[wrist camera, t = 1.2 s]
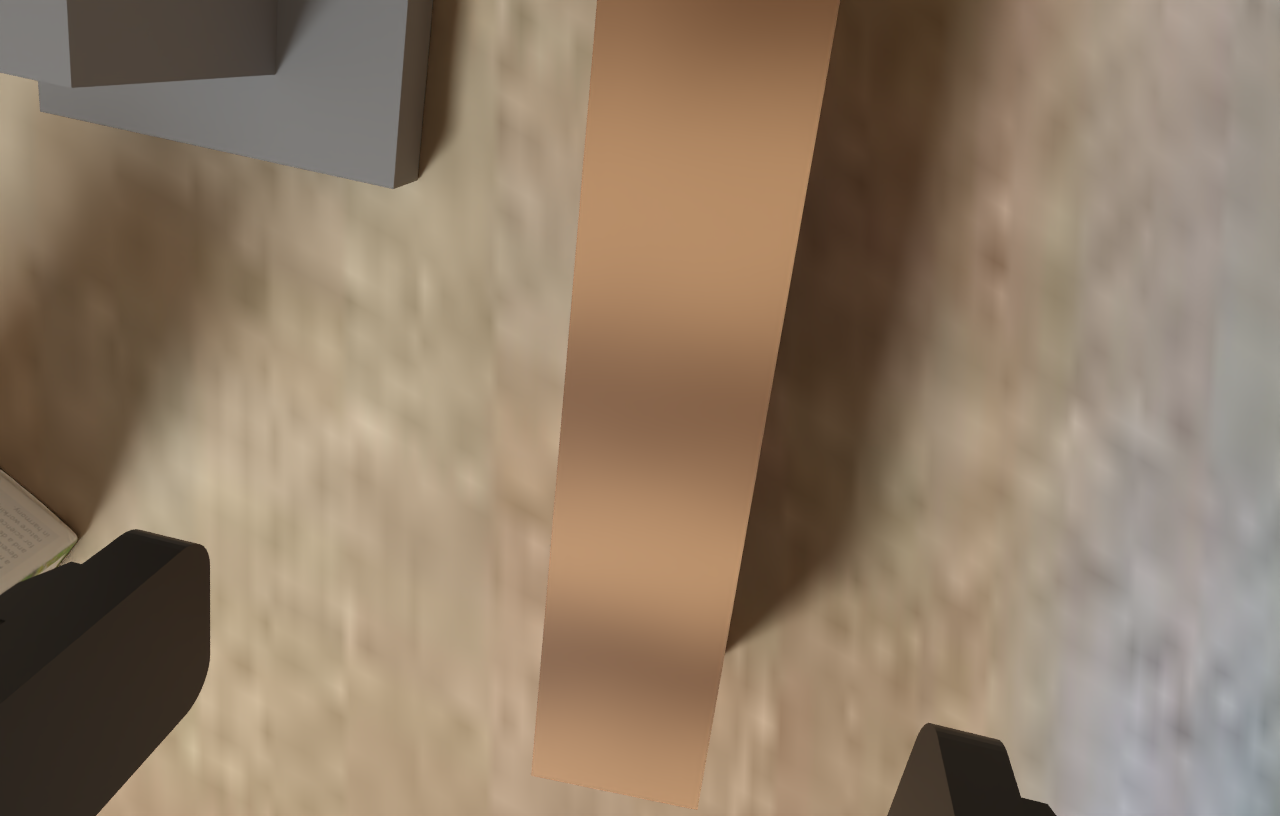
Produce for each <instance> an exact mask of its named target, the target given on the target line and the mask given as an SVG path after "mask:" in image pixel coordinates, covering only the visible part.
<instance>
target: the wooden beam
mask: <svg viewBox="0 0 1280 816" xmlns="http://www.w3.org/2000/svg"><path fill="white" fill-rule="evenodd" d="M839 4H840V0H597V9H596V21H595V32H594V44H593V56H592V68H591V79H590V91H589V103H588V115H587V126H586V138H585V150H584V162H583V173H582V185H581V197H580V209H579V220H578V232H577V244H576V256H575V267H574V279H573V291H572V303H571V314H570V326H569V338H568V350H567V361H566V373H565V385H564V397H563V408H562V420H561V432H560V444H559V455H558V467H557V479H556V491H555V502H554V514H553V526H552V538H551V549H550V561H549V573H548V585H547V596H546V608H545V620H544V632H543V644H542V655H541V667H540V679H539V691H538V702H537V714H536V726H535V738H534V749H533V761H532V773H531V776H536V777H541V778H546V779H551V780H555V781H560V782H565V783H570V784H575V785H580V786H584V787H589V788H594V789H599V790H604V791H609V792H613V793H618V794H623V795H628V796H633V797H637V798H642V799H647V800H652V801H657V802H662V803H666V804H671V805H676V806H681V807H686V808H691V809H695V810H697V808H698V802H699V797H700V791H701V785H702V780H703V774H704V768H705V763H706V757H707V751H708V746H709V740H710V734H711V729H712V723H713V717H714V712H715V706H716V700H717V695H718V689H719V683H720V678H721V672H722V666H723V661H724V655H725V649H726V644H727V638H728V632H729V627H730V621H731V615H732V610H733V604H734V599H735V593H736V587H737V582H738V576H739V570H740V565H741V559H742V553H743V548H744V542H745V536H746V531H747V525H748V519H749V514H750V508H751V502H752V497H753V491H754V485H755V480H756V474H757V468H758V463H759V457H760V451H761V446H762V440H763V434H764V429H765V423H766V417H767V412H768V406H769V400H770V395H771V389H772V383H773V378H774V372H775V367H776V361H777V355H778V350H779V344H780V338H781V333H782V327H783V321H784V316H785V310H786V304H787V299H788V293H789V287H790V282H791V276H792V270H793V265H794V259H795V253H796V248H797V242H798V236H799V231H800V225H801V219H802V214H803V208H804V202H805V197H806V191H807V185H808V180H809V174H810V168H811V163H812V157H813V152H814V146H815V140H816V135H817V129H818V123H819V118H820V112H821V106H822V101H823V95H824V89H825V84H826V78H827V72H828V67H829V61H830V55H831V50H832V44H833V38H834V33H835V27H836V21H837V16H838V10H839Z"/></svg>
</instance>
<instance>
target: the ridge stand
mask: <svg viewBox="0 0 1280 816" xmlns="http://www.w3.org/2000/svg"><path fill="white" fill-rule="evenodd" d="M432 9H433V0H0V73H5V74H9V75H14V76H18V77H23V78H28V79H32V80H37V81H38V87H39V101H40V111H41V112H45V113H50V114H54V115H59V116H63V117H68V118H72V119H77V120H82V121H86V122H91V123H95V124H100V125H104V126H109V127H113V128H118V129H123V130H127V131H132V132H136V133H141V134H145V135H150V136H154V137H159V138H164V139H168V140H173V141H177V142H182V143H186V144H191V145H195V146H200V147H205V148H209V149H214V150H218V151H223V152H227V153H232V154H236V155H241V156H246V157H250V158H255V159H259V160H264V161H268V162H273V163H277V164H282V165H287V166H291V167H296V168H300V169H305V170H309V171H314V172H319V173H323V174H328V175H332V176H337V177H341V178H346V179H350V180H355V181H360V182H364V183H369V184H373V185H378V186H382V187H387V188H391V189H395V188H397V187H400V186H403V185H405V184H408V183H411V182H414V181H416V180H418V168H419V157H420V146H421V134H422V123H423V111H424V100H425V89H426V77H427V66H428V54H429V43H430V31H431V20H432Z"/></svg>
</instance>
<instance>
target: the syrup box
mask: <svg viewBox="0 0 1280 816" xmlns="http://www.w3.org/2000/svg"><path fill="white" fill-rule="evenodd" d="M76 542H77V536H76V534H75V533H74V532H73V531H72V530H71V529H70V528H69V527H68V526H67V525H66V524H64V523H63V522H62V521H61V520H60V519H59V518H58V517H57V516H56V515H55V514H54V513H52V512H51V511H50V510H49V509H48V508H47V507H46V506H45V505H44V504H42V503H41V502H40V501H39V500H38V499H36V498H35V497H34V496H33V495H32V494H30V493H29V492H28V491H27V490H25V489H24V488H23V487H22V486H20V485H19V484H18V483H17V482H16V481H15V480H14V479H13V478H11V477H10V476H9V475H7V474H6V473H5V472H3V471H2V470H1V469H0V595H1V594H3V593H4V592H5V591H7V590H8V589H10V588H11V587H12V586H14V585H15V584H17V583H19V582H21V581H24V580H26V579H29V578H31V577H34V576H36V575H39V574H42V573H44V572H47V571H49V570H52V569H54V568H56V567H57V566H58V565H59V564H60V562H61V561H62V560H63V558H64V557H65V556H66V555H67V554H68V552H69V551H70V550H71V549H72V547H73V546H74V545H75V543H76Z"/></svg>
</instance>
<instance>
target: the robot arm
mask: <svg viewBox="0 0 1280 816" xmlns="http://www.w3.org/2000/svg"><path fill="white" fill-rule="evenodd" d="M209 661H210V560H209V555H208V552H207V550H206V549H205V547H204V546H202V545H200V544H196V543H192V542H188V541H184V540H180V539H176V538H171V537H167V536H163V535H159V534H155V533H151V532H147V531H143V530H137V529H135V530H130V531H128V532H125V533H124V534H122V535H121V536H119V537H118V538H117V539H115V540H114V541H113V542H111V543H110V544H109V545H107V546H106V547H105V548H103V549H102V550H101V551H99V552H98V553H96V554H95V555H94V556H92V557H91V558H90V559H88V560H87V561H86V562H84V563H83V564H78V563H74V562H70V563H67V564H64V565H62V566H59V567H57V568H54V569H52V570H49V571H47V572H44V573H42V574H39V575H36V576H34V577H31V578H29V579H26V580H24V581H21V582H19V583H17V584H15V585H14V586H12V587H11V588H10V589H8V590H7V591H5V592H4V593H3V594H1V595H0V816H96V815H97V814H98V813H99V812H100V810H101V809H102V808H103V807H104V806H105V805H106V804H107V803H108V802H109V800H110V799H111V798H112V797H113V796H114V795H115V794H116V793H117V791H118V790H119V789H120V788H121V787H122V786H123V785H124V784H125V782H126V781H127V780H128V779H129V778H130V777H131V776H132V775H133V773H134V772H135V771H136V770H137V769H138V768H139V767H140V766H141V764H142V763H143V762H144V761H145V760H146V759H147V758H148V757H149V756H150V754H151V753H152V752H153V751H154V750H155V749H156V748H157V747H158V745H159V744H160V743H161V742H162V741H163V740H164V739H165V738H166V736H167V735H168V734H169V733H170V732H171V731H172V730H173V729H174V727H175V726H176V725H177V724H178V723H179V722H180V721H181V720H182V718H183V717H184V716H185V715H186V714H187V713H188V711H189V710H190V709H191V707H192V706H193V704H194V702H195V701H196V699H197V697H198V695H199V693H200V691H201V689H202V686H203V684H204V681H205V678H206V675H207V671H208V667H209ZM887 816H1056V815H1055V813H1054V812H1053V811H1052V809H1051V808H1050V807H1049V805H1048V804H1045V803H1041V802H1037V801H1033V800H1029V799H1025V798H1021V796H1020V793H1019V789H1018V786H1017V783H1016V780H1015V776H1014V773H1013V770H1012V767H1011V764H1010V760H1009V757H1008V754H1007V751H1006V749H1005V746H1004V745H1003V743H1002V742H1001V741H1000V740H997V739H993V738H989V737H985V736H981V735H977V734H973V733H968V732H964V731H960V730H956V729H952V728H948V727H944V726H940V725H935V724H931V723H927V724H925V725H924V726H923V727H922V729H921V730H920V732H919V734H918V736H917V739H916V741H915V744H914V746H913V749H912V752H911V754H910V757H909V760H908V762H907V765H906V768H905V770H904V773H903V776H902V778H901V781H900V783H899V786H898V789H897V791H896V794H895V797H894V799H893V802H892V805H891V807H890V810H889V813H888V815H887Z"/></svg>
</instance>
